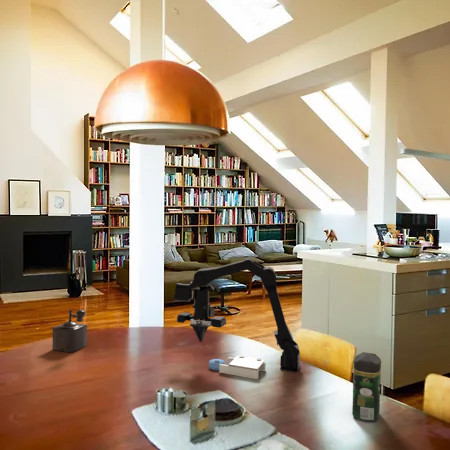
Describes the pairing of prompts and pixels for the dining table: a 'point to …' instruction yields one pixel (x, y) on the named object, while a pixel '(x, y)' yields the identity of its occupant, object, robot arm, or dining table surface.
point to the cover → (247, 362)
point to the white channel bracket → (240, 370)
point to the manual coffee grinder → (70, 334)
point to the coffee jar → (366, 386)
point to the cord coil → (215, 363)
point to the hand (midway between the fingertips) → (201, 341)
